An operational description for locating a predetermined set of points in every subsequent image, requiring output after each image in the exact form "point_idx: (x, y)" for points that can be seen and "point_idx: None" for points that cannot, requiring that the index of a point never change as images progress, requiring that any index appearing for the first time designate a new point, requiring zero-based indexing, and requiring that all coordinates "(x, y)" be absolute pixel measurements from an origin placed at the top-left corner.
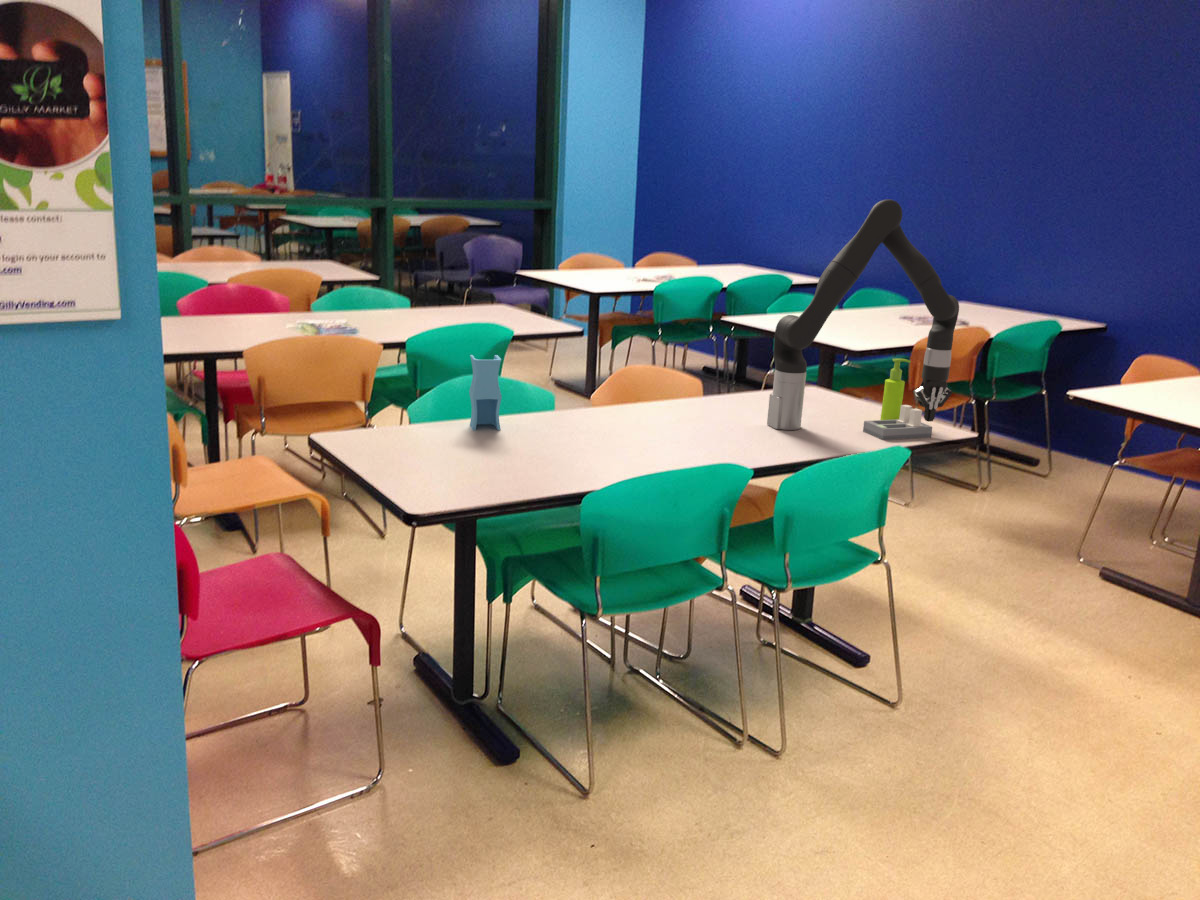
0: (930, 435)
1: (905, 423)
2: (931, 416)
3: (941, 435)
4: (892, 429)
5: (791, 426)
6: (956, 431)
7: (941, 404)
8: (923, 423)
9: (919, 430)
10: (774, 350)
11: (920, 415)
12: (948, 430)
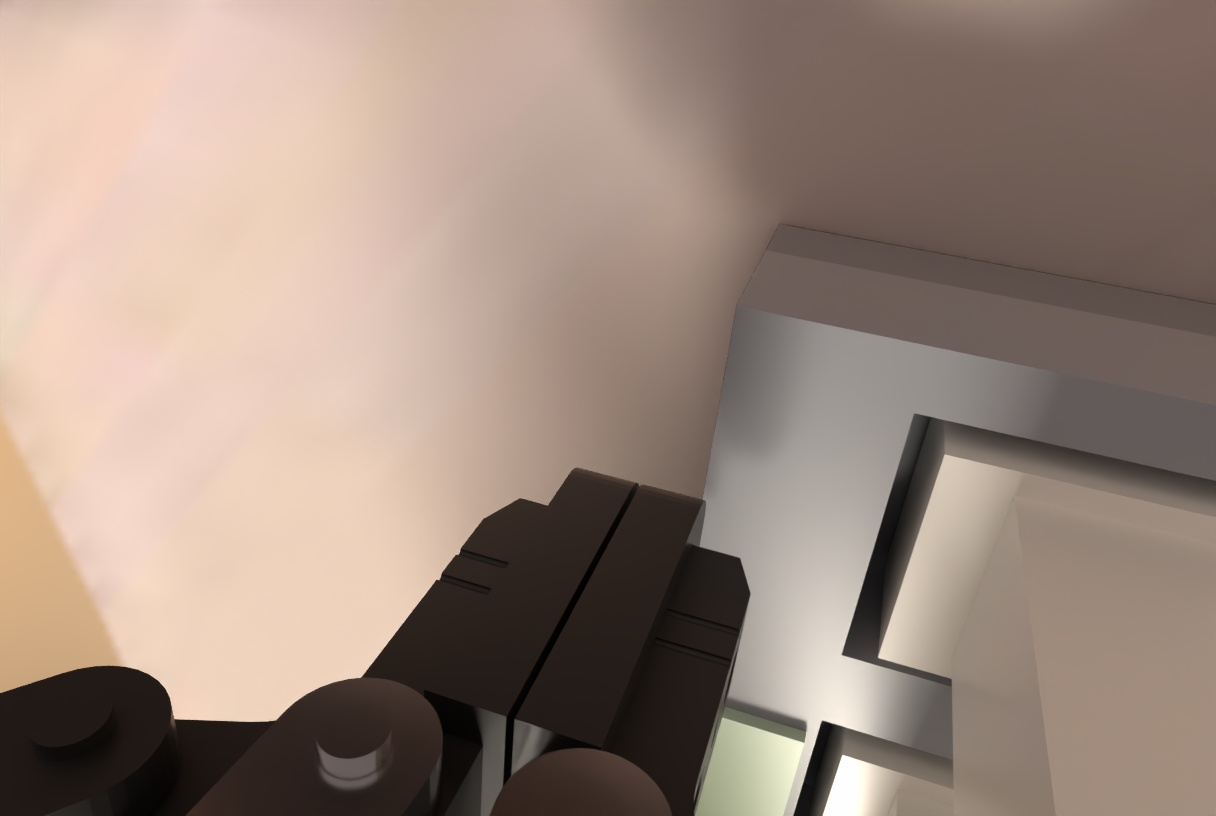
0: (792, 240)
1: None
2: (609, 558)
3: (456, 256)
4: None
5: None
6: (80, 339)
7: (38, 740)
8: None
9: (1161, 359)
10: None
11: (1097, 719)
12: (167, 425)
